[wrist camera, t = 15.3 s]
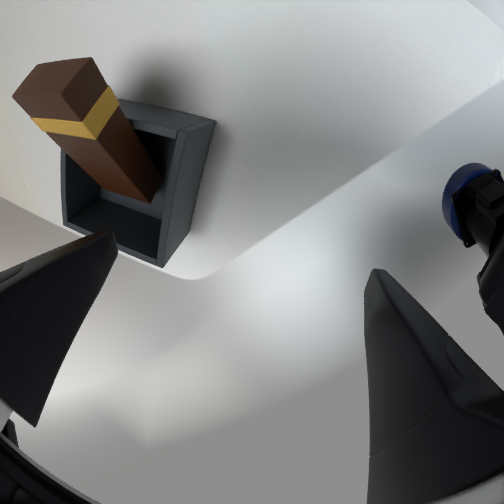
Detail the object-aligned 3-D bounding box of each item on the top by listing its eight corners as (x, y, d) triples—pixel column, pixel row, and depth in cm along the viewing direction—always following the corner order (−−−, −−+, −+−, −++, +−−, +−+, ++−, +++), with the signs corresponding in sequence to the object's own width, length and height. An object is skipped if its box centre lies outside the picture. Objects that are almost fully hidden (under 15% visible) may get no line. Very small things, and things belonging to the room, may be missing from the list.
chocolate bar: (164, 177, 21) (93, 55, 9) (151, 205, 21) (60, 95, 8) (116, 165, 22) (37, 63, 9) (103, 190, 21) (10, 97, 8)
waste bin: (216, 120, 19) (187, 132, 14) (189, 232, 25) (162, 268, 20) (108, 97, 19) (63, 106, 14) (98, 198, 25) (63, 225, 20)
